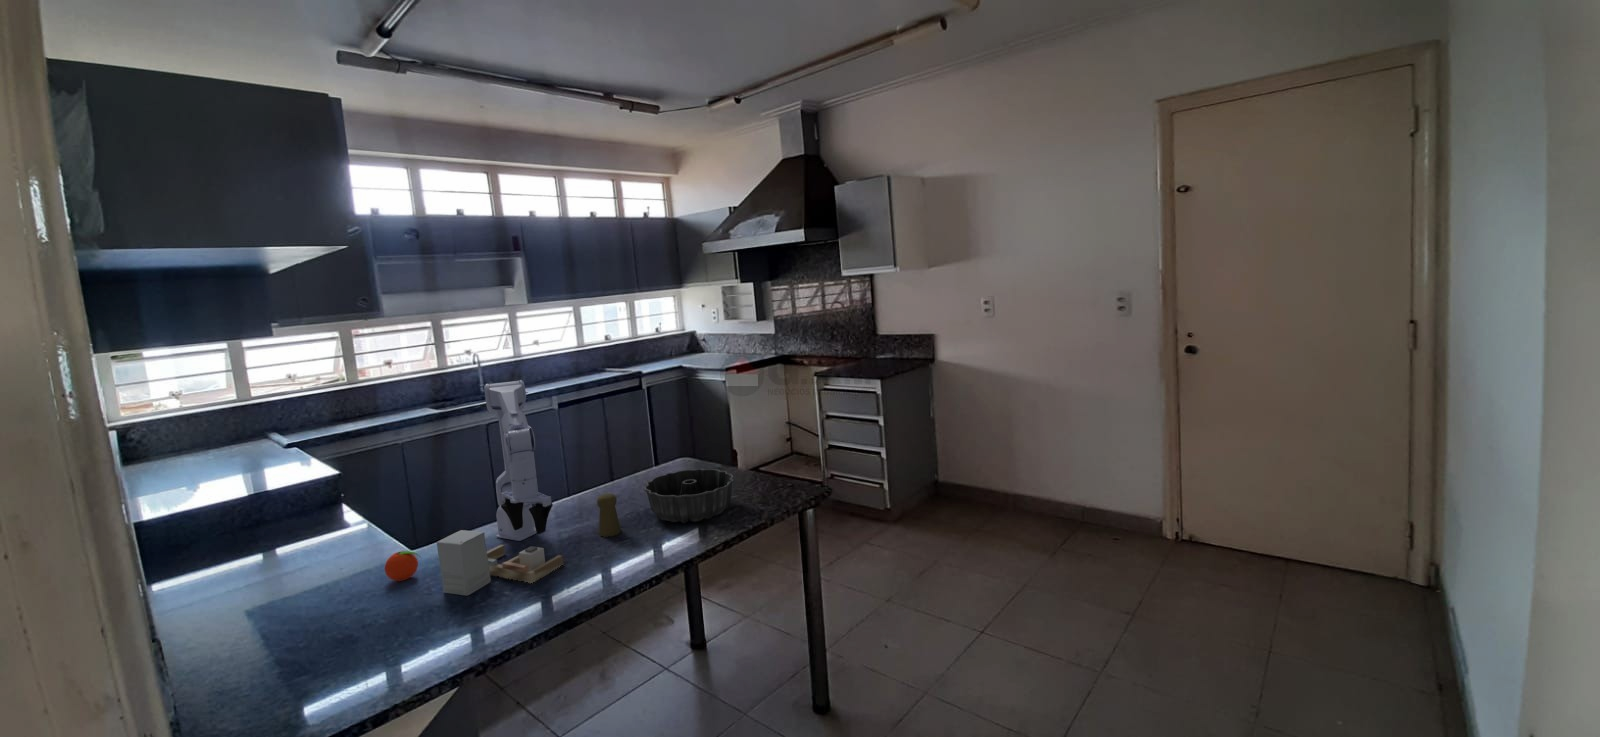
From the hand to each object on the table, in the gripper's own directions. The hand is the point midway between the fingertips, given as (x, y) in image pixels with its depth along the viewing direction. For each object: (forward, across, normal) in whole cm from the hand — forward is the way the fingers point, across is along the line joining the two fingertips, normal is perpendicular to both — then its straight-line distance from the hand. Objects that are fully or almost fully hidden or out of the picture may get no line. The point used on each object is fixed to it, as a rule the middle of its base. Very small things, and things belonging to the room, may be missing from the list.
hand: (529, 530), depth 159 cm
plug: (+10, 0, 0) cm, 10 cm away
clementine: (+10, -26, -15) cm, 32 cm away
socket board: (+10, -5, -1) cm, 11 cm away
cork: (+10, +3, +24) cm, 26 cm away
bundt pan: (+10, +17, +44) cm, 49 cm away
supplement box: (+10, -8, -13) cm, 18 cm away
